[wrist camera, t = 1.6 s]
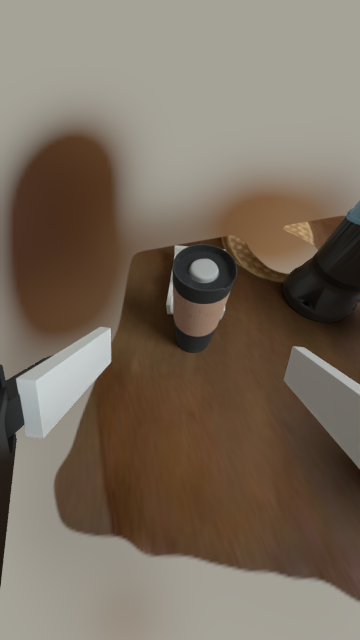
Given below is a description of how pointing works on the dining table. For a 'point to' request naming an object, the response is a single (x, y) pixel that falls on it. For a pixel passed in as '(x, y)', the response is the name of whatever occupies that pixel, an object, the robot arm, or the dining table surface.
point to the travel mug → (200, 293)
